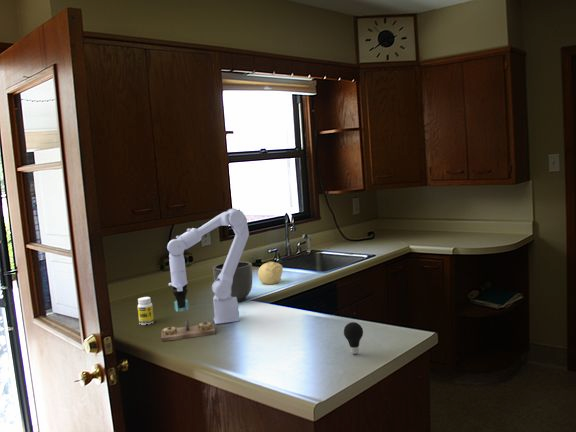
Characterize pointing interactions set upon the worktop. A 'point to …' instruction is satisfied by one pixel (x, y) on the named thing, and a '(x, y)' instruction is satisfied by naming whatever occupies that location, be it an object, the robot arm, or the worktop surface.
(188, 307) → the teal gear
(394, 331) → the worktop surface
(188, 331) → the gear board
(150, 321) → the supplement bottle
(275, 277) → the pale yellow round lump
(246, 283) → the planter
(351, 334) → the light bulb
